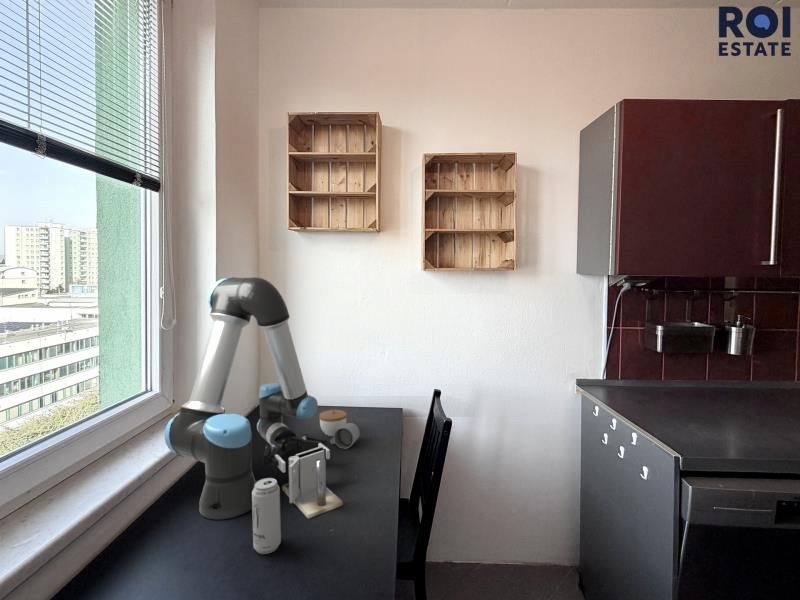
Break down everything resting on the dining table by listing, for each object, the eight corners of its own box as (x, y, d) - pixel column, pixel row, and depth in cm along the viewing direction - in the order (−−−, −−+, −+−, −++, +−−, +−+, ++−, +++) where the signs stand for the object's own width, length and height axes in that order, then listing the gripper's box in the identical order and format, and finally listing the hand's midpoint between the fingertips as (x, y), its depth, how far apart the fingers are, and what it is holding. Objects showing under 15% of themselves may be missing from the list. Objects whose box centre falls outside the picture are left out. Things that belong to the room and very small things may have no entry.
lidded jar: (317, 430, 164) (317, 407, 163) (343, 426, 168) (343, 404, 167) (322, 440, 154) (321, 416, 153) (349, 436, 158) (349, 412, 157)
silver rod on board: (307, 511, 105) (306, 466, 104) (283, 485, 118) (282, 445, 118) (338, 500, 110) (338, 457, 110) (312, 476, 124) (311, 437, 123)
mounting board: (308, 518, 104) (308, 514, 104) (282, 489, 118) (282, 486, 118) (342, 505, 110) (342, 501, 110) (314, 479, 124) (314, 476, 124)
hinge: (291, 504, 108) (290, 467, 108) (278, 498, 111) (277, 462, 111) (328, 482, 120) (328, 448, 119) (316, 477, 123) (315, 444, 122)
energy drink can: (248, 546, 93) (247, 483, 92) (273, 535, 97) (271, 474, 96) (260, 559, 89) (259, 493, 88) (285, 546, 93) (284, 483, 92)
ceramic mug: (361, 441, 153) (360, 420, 153) (353, 449, 145) (352, 428, 145) (334, 439, 155) (334, 419, 155) (326, 447, 148) (325, 427, 147)
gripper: (316, 439, 141) (345, 461, 124) (242, 458, 127) (263, 486, 110) (316, 418, 141) (345, 437, 124) (241, 435, 126) (263, 459, 109)
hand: (307, 461), depth 117 cm, fingers open, 13 cm apart
